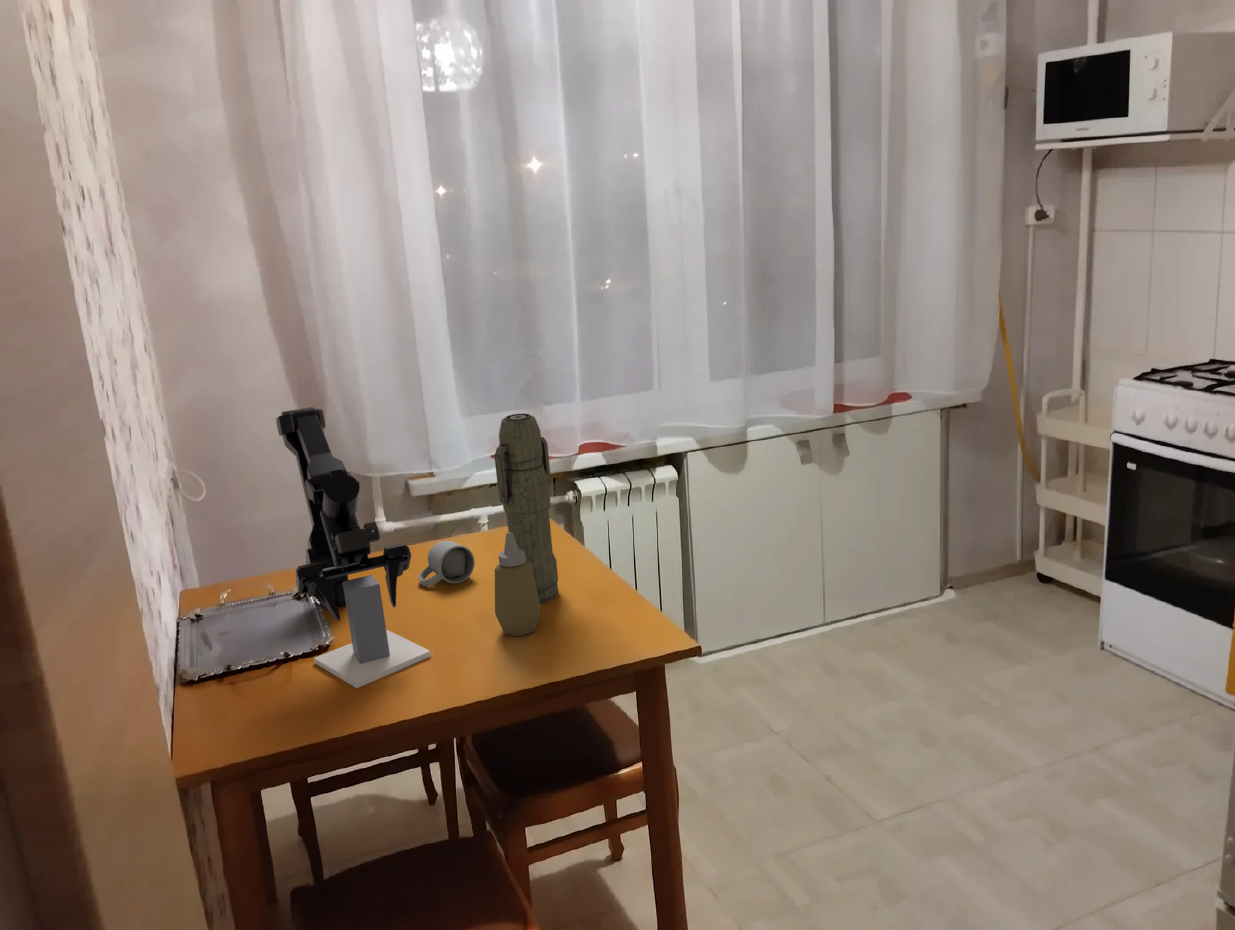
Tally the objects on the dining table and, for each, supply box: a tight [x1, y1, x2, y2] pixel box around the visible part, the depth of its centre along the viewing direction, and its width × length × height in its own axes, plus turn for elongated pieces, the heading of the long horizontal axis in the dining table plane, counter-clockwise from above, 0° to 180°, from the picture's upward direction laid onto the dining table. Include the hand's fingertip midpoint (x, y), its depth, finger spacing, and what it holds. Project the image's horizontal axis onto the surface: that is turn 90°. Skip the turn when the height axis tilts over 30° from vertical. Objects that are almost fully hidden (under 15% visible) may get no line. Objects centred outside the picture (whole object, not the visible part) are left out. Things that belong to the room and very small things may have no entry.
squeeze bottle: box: [494, 532, 542, 637], centre depth 171 cm, size 8×8×18 cm
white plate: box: [313, 628, 432, 689], centre depth 166 cm, size 14×14×1 cm
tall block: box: [343, 574, 390, 664], centre depth 164 cm, size 5×5×13 cm
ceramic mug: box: [418, 540, 476, 587], centre depth 198 cm, size 11×8×8 cm
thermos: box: [494, 413, 559, 604], centre depth 183 cm, size 9×12×35 cm
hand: (367, 613), depth 162 cm, fingers open, 9 cm apart
